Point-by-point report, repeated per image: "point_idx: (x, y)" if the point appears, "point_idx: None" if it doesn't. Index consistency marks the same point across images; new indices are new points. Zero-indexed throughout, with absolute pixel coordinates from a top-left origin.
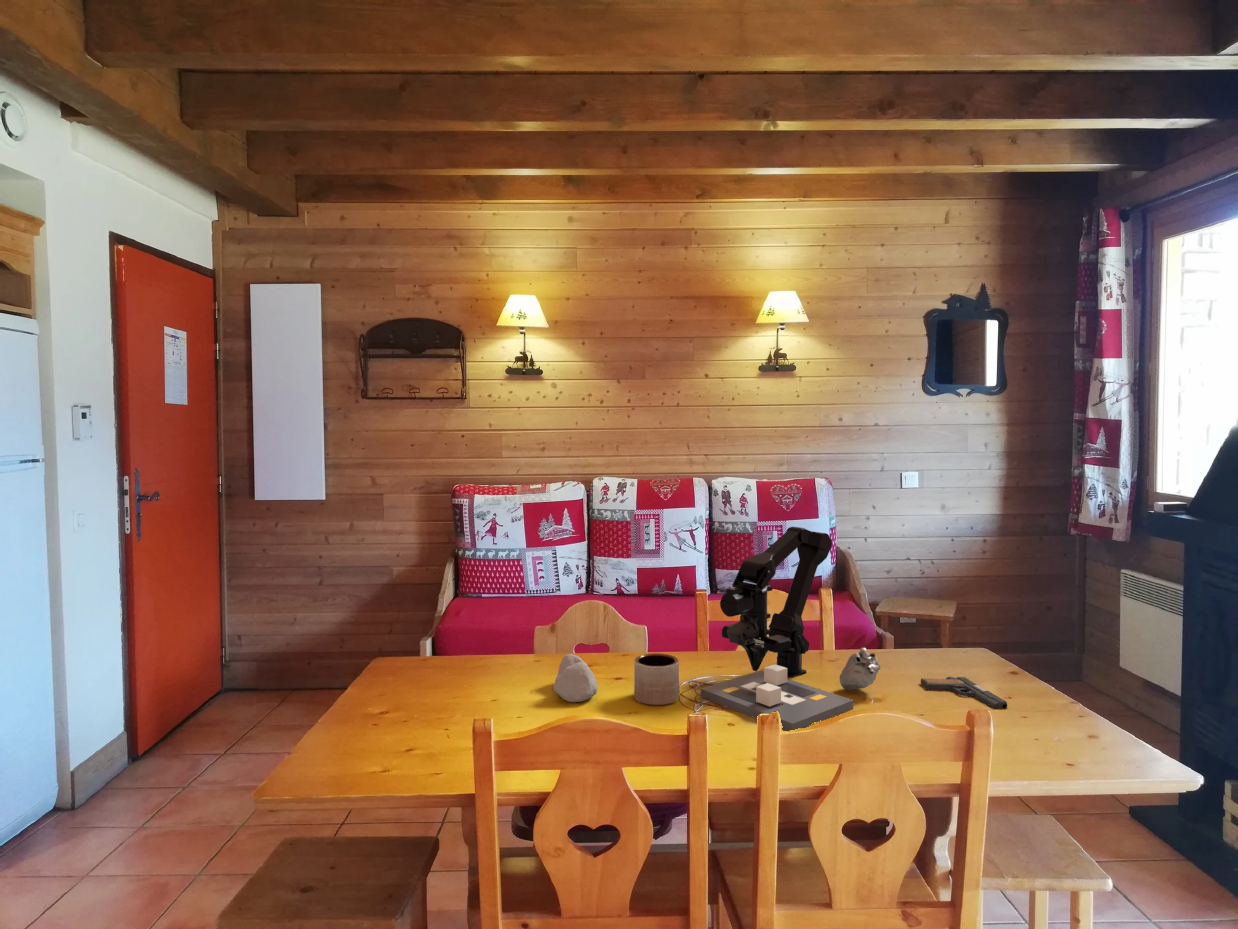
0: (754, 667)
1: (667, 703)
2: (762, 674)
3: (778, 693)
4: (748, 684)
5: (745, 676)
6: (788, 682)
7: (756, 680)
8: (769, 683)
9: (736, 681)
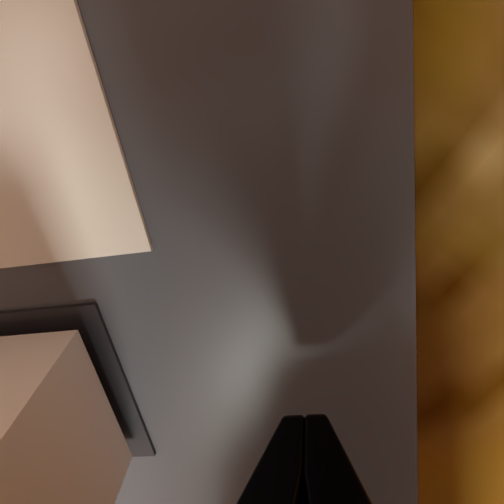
0: (279, 451)
1: None
2: None
3: None
4: (82, 126)
5: (375, 297)
6: None
7: (188, 307)
8: None
9: (283, 61)
